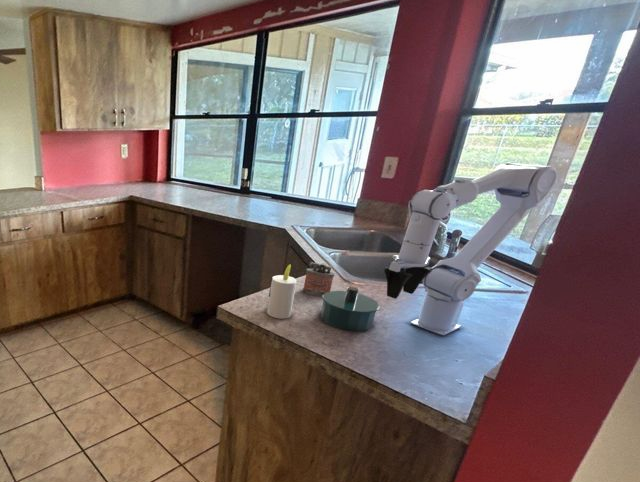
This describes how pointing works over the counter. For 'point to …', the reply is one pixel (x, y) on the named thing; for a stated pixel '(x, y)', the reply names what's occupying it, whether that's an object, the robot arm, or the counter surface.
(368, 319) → the pot
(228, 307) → the counter surface
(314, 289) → the brick planter box
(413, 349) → the counter surface
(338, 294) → the cover
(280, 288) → the candle
